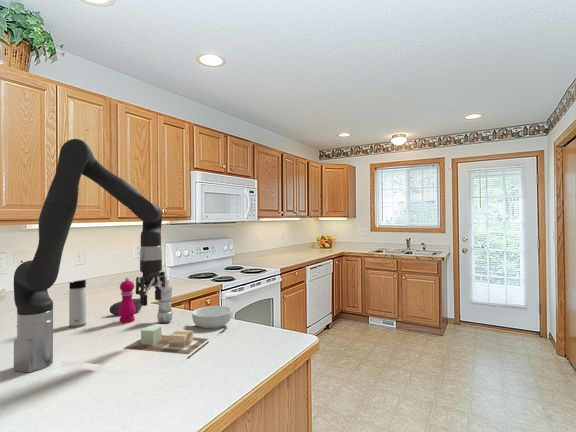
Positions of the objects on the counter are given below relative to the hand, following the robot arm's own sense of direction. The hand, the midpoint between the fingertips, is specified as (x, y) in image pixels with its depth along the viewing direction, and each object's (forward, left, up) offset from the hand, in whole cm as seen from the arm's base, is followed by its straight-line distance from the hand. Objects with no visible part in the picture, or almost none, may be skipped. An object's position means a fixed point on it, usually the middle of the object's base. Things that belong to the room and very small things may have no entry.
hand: (151, 302), depth 125 cm
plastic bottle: (+27, +12, -16) cm, 34 cm away
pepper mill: (+25, +30, -16) cm, 42 cm away
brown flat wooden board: (0, -7, -16) cm, 17 cm away
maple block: (0, -12, -14) cm, 19 cm away
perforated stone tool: (+36, +39, -16) cm, 56 cm away
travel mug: (+15, +47, -16) cm, 52 cm away
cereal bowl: (+25, -12, -16) cm, 32 cm away
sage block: (0, 0, -14) cm, 14 cm away
